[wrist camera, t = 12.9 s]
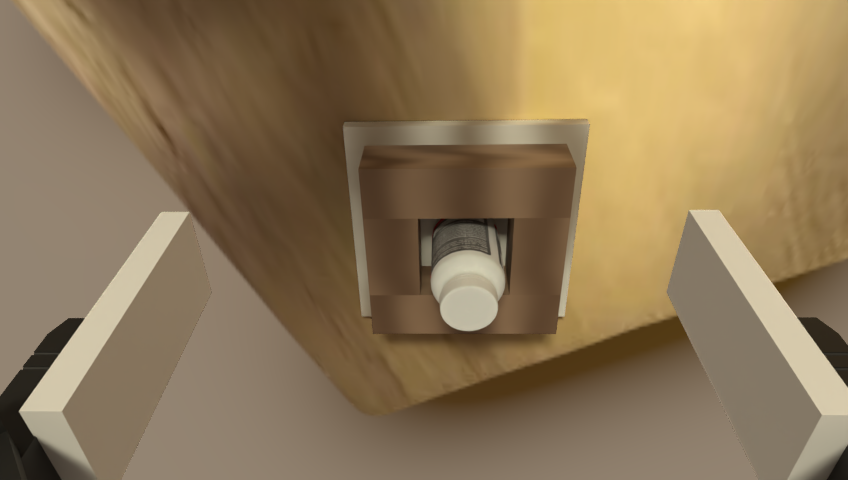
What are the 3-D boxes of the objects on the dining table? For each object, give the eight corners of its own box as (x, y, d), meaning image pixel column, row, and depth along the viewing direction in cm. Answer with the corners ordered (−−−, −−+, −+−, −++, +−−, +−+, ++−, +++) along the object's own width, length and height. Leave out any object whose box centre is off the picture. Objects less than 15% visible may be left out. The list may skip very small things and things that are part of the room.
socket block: (363, 309, 55) (356, 347, 51) (344, 121, 45) (334, 149, 41) (562, 309, 54) (572, 347, 50) (587, 119, 45) (601, 147, 41)
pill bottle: (418, 235, 49) (413, 312, 41) (462, 191, 47) (466, 263, 39) (467, 271, 51) (472, 351, 43) (512, 230, 49) (526, 306, 41)
